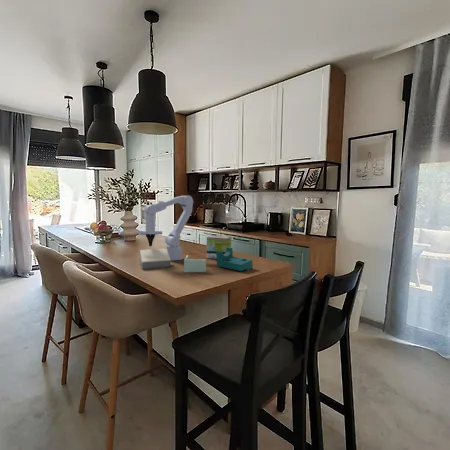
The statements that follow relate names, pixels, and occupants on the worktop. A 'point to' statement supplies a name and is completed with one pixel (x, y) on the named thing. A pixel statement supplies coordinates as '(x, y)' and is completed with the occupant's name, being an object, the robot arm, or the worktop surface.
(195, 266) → the l-shaped corner panel
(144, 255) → the lid
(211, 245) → the tea box
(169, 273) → the worktop surface
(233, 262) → the teal stepped block
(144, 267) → the storage box
